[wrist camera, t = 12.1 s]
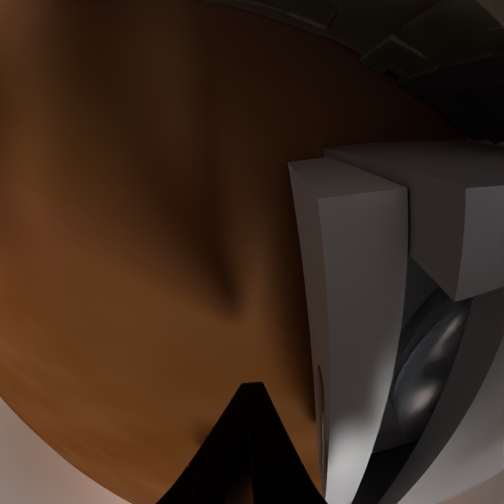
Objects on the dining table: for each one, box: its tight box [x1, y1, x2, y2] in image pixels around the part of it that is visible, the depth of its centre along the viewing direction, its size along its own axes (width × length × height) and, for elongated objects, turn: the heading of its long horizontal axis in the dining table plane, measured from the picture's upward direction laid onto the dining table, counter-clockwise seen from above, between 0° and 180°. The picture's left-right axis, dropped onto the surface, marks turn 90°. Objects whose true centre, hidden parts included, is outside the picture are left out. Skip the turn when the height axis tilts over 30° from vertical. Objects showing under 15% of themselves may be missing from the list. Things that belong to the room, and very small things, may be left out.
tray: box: [288, 157, 439, 504], centre depth 6 cm, size 11×13×4 cm
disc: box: [388, 286, 473, 439], centre depth 7 cm, size 7×7×2 cm
